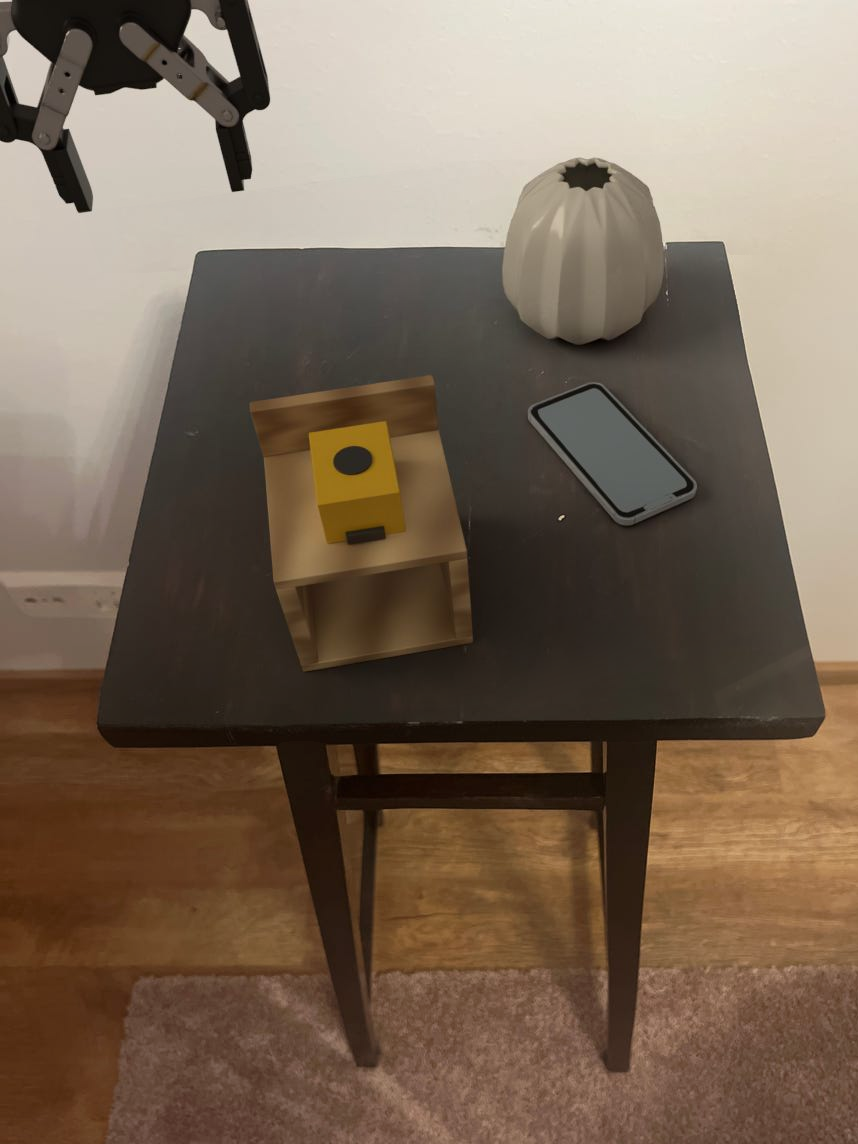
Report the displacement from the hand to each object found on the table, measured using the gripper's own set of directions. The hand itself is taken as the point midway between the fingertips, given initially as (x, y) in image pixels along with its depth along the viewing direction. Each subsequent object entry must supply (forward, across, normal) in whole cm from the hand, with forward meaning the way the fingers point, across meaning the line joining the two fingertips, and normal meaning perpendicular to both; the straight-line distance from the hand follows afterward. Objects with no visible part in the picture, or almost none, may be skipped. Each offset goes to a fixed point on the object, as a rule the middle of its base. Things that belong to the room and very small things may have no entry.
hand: (162, 194), depth 55 cm
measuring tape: (+16, -8, +10) cm, 21 cm away
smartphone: (+26, -28, 0) cm, 38 cm away
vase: (+26, -30, -18) cm, 44 cm away
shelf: (+26, -8, +10) cm, 29 cm away
